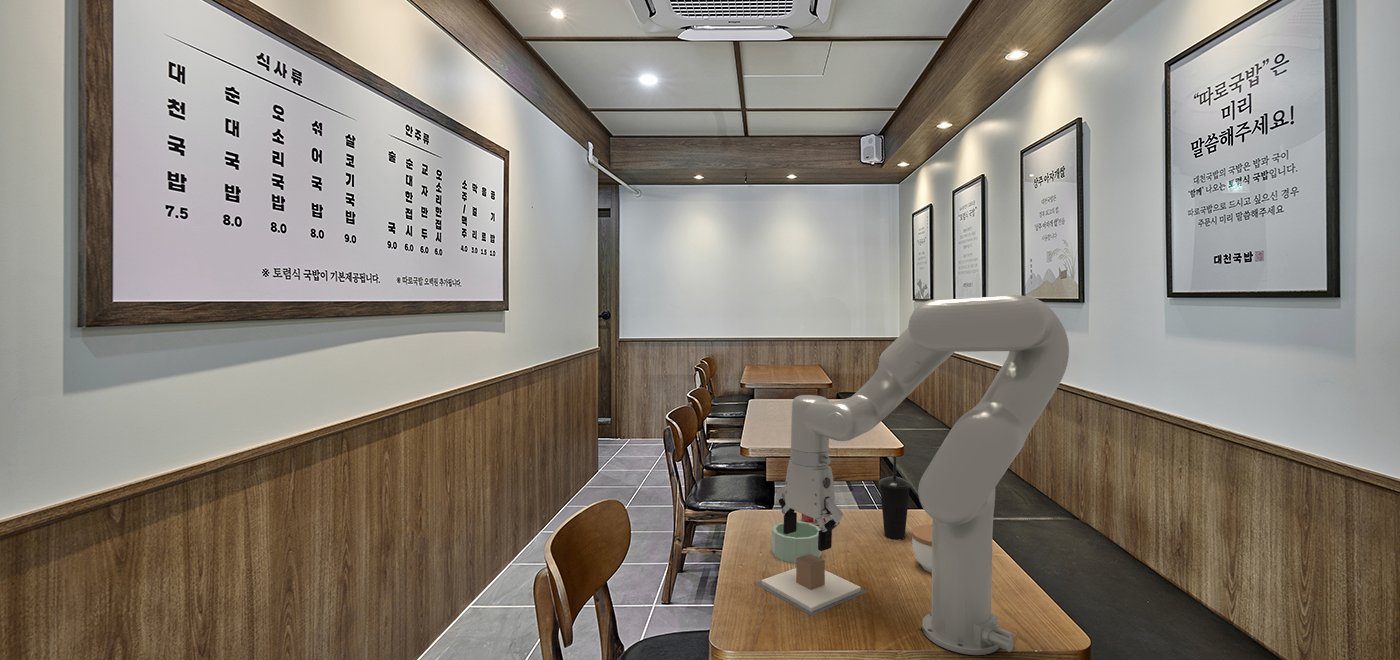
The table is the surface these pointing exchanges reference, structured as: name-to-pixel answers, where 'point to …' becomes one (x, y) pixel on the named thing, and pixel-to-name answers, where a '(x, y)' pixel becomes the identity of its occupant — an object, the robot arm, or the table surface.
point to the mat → (817, 609)
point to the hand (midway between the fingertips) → (806, 540)
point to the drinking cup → (894, 504)
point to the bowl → (795, 541)
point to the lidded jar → (923, 545)
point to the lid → (810, 584)
